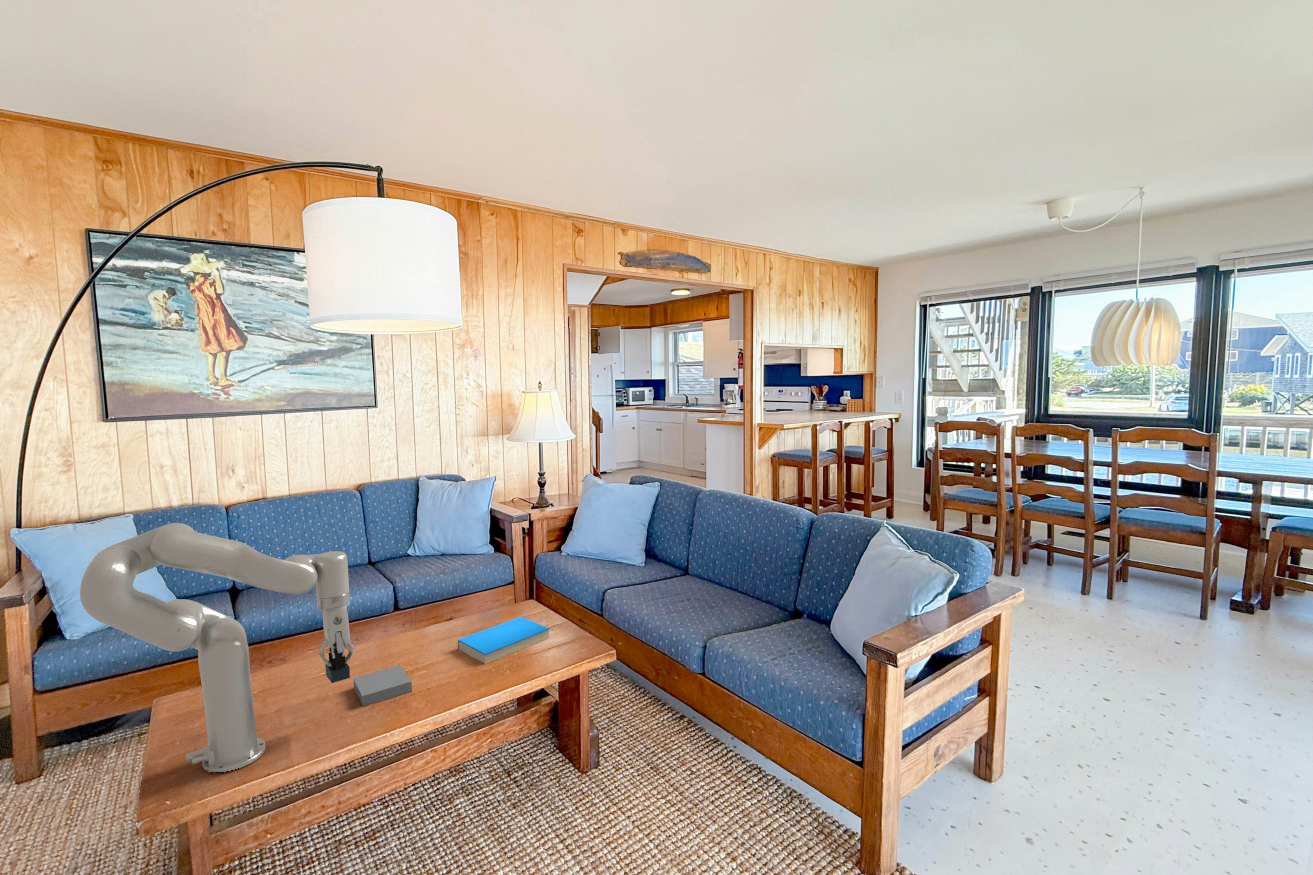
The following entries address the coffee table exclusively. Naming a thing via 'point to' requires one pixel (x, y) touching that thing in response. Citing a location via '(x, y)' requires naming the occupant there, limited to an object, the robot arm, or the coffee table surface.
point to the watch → (335, 674)
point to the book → (503, 639)
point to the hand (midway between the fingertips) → (337, 668)
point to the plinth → (382, 685)
